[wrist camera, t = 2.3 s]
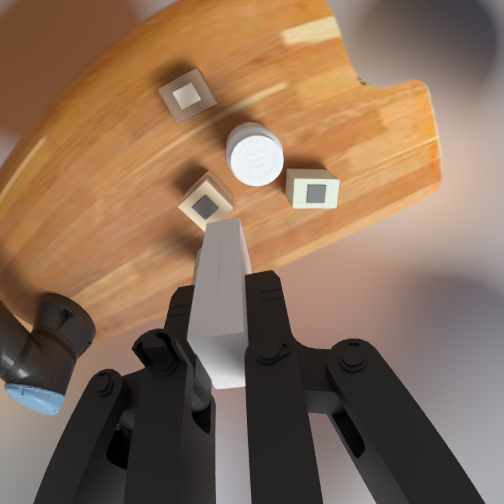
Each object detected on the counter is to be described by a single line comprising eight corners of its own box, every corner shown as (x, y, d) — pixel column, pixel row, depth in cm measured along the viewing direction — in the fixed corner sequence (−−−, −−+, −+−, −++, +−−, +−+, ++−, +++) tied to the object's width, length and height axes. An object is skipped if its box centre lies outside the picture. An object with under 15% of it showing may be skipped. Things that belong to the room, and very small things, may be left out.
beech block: (208, 216, 40) (205, 233, 36) (183, 193, 38) (177, 207, 33) (233, 194, 38) (233, 208, 34) (209, 169, 36) (206, 180, 32)
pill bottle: (269, 166, 37) (285, 194, 27) (224, 163, 36) (223, 190, 26) (274, 123, 33) (293, 133, 24) (227, 119, 33) (227, 127, 23)
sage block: (285, 195, 39) (292, 209, 35) (286, 168, 37) (294, 179, 33) (324, 195, 40) (336, 208, 35) (327, 169, 37) (340, 180, 33)
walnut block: (184, 121, 32) (177, 124, 28) (167, 90, 30) (157, 89, 25) (218, 103, 32) (216, 103, 27) (201, 72, 29) (196, 67, 25)
